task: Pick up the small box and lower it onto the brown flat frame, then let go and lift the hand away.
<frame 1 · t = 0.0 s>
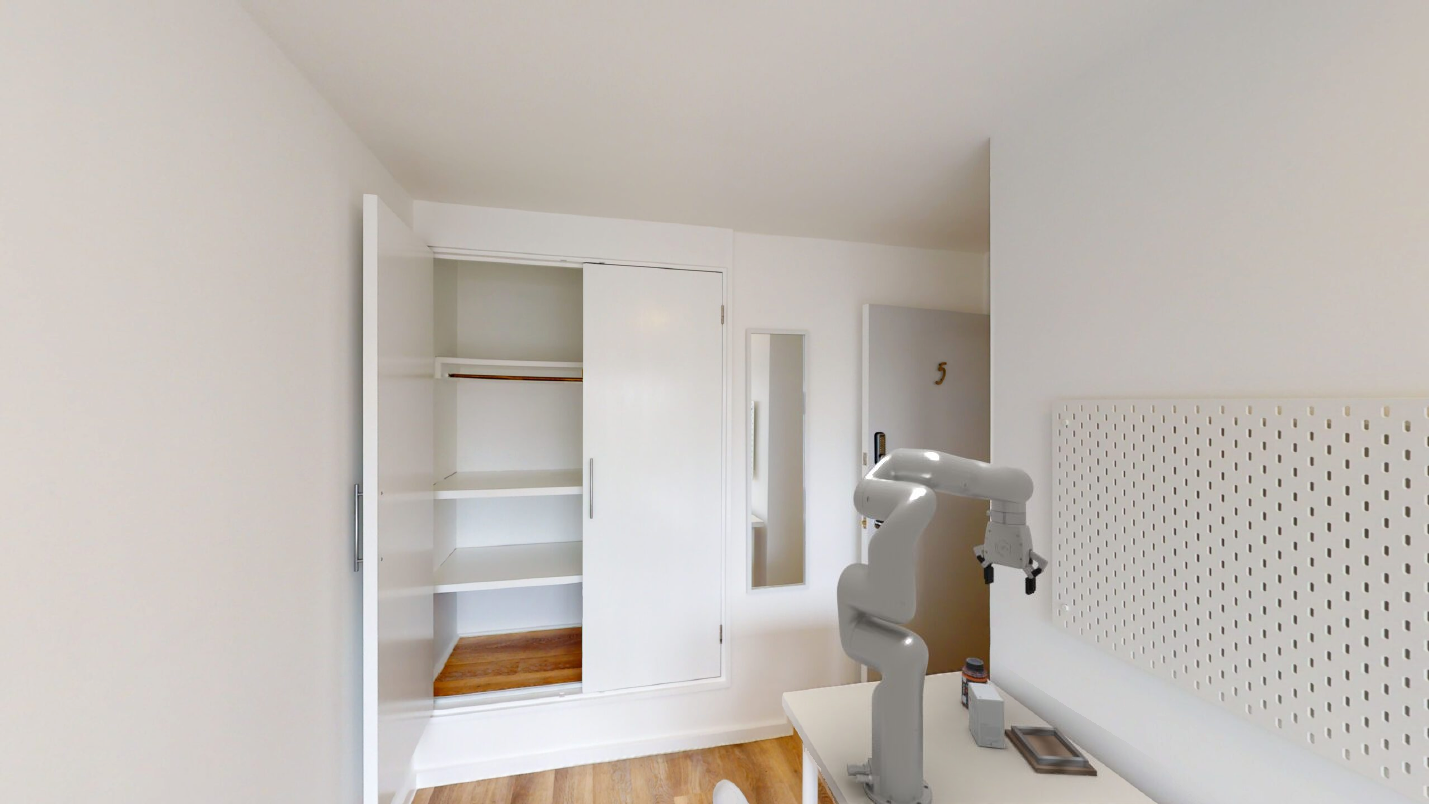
hand: (1009, 588, 134), 31 cm above the table, tool pointing down, fingers open, 9 cm apart
small box: (985, 738, 125), on the table
brown flat frame: (1047, 753, 119), on the table
supplement bottle: (974, 706, 139), on the table
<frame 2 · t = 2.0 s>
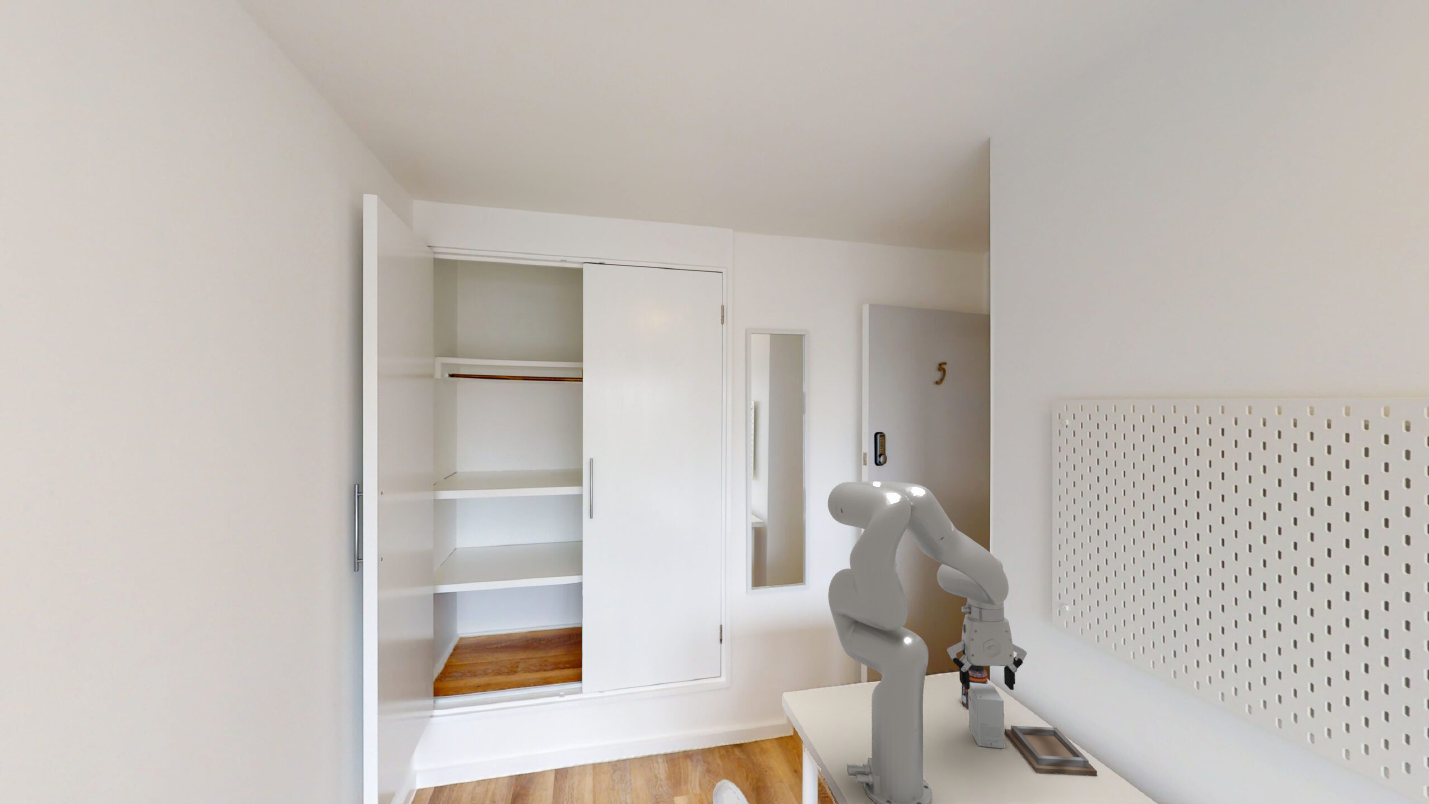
hand: (987, 686, 125), 11 cm above the table, tool pointing down, fingers open, 9 cm apart
nothing on the table moved.
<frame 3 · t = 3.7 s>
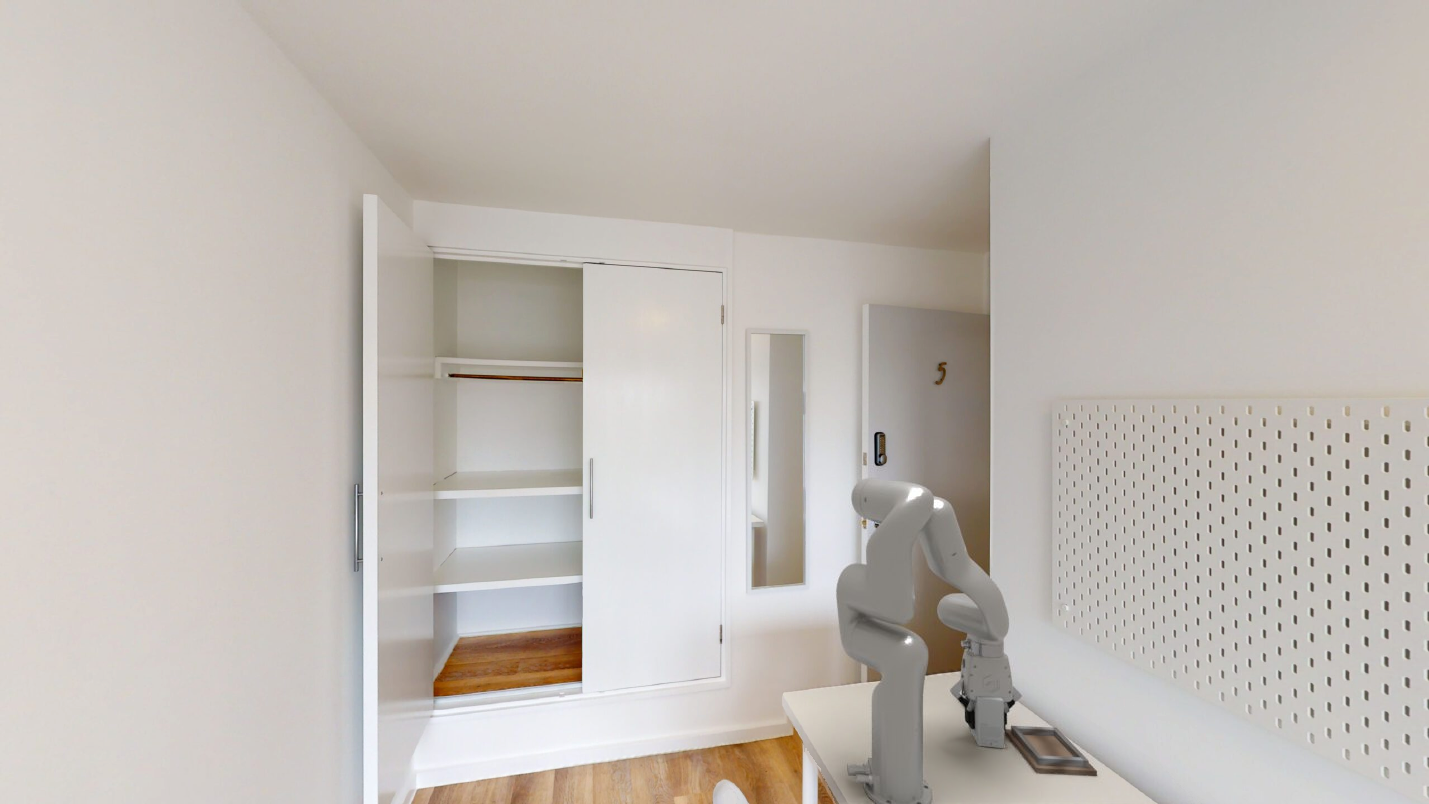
hand: (985, 725, 125), 3 cm above the table, tool pointing down, fingers closed on small box, 6 cm apart
small box: (985, 738, 125), on the table, touching gripper
everything else where it was.
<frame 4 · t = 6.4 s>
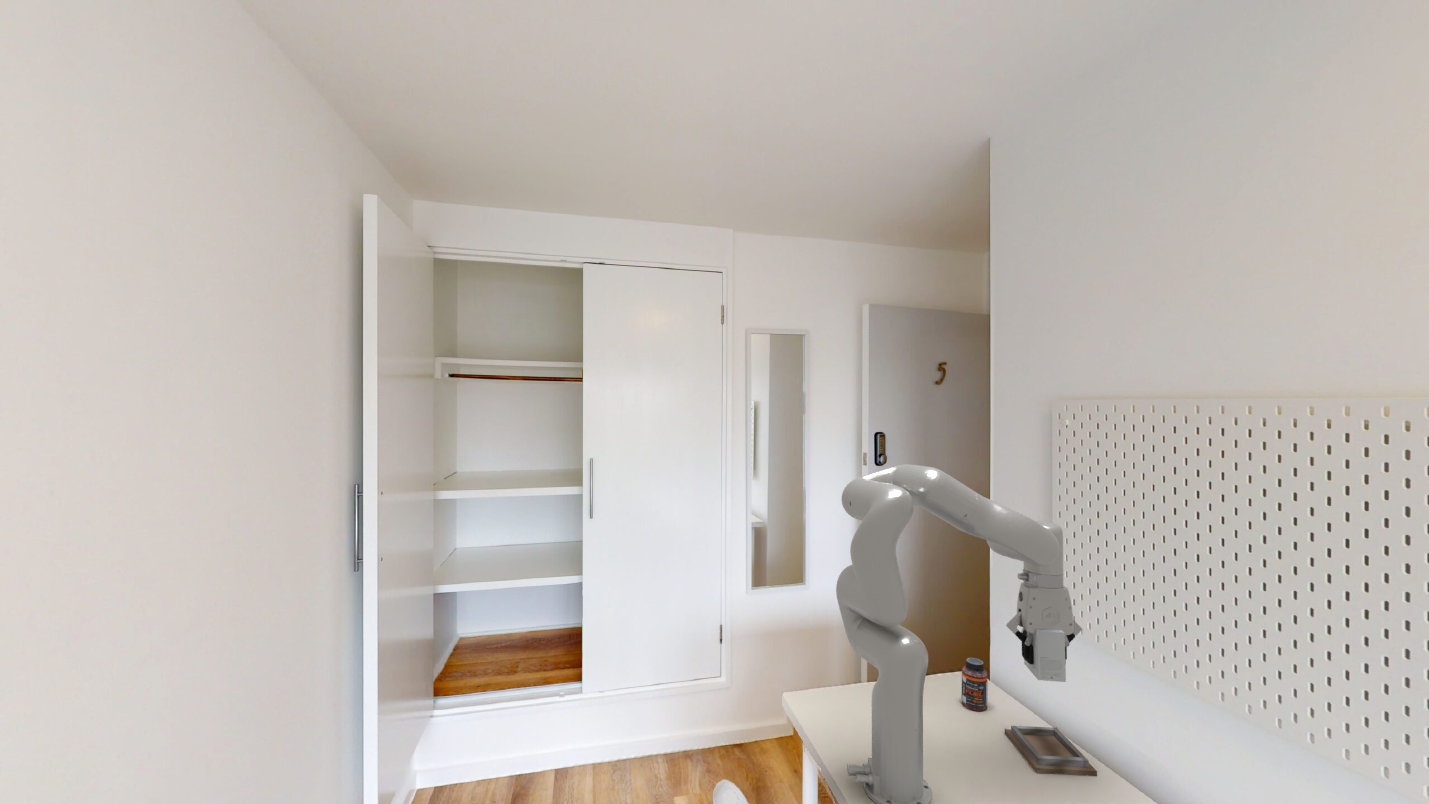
hand: (1044, 661, 120), 20 cm above the table, tool pointing down, fingers closed on small box, 6 cm apart
small box: (1044, 674, 120), point 17 cm above the table, touching gripper
everything else where it was.
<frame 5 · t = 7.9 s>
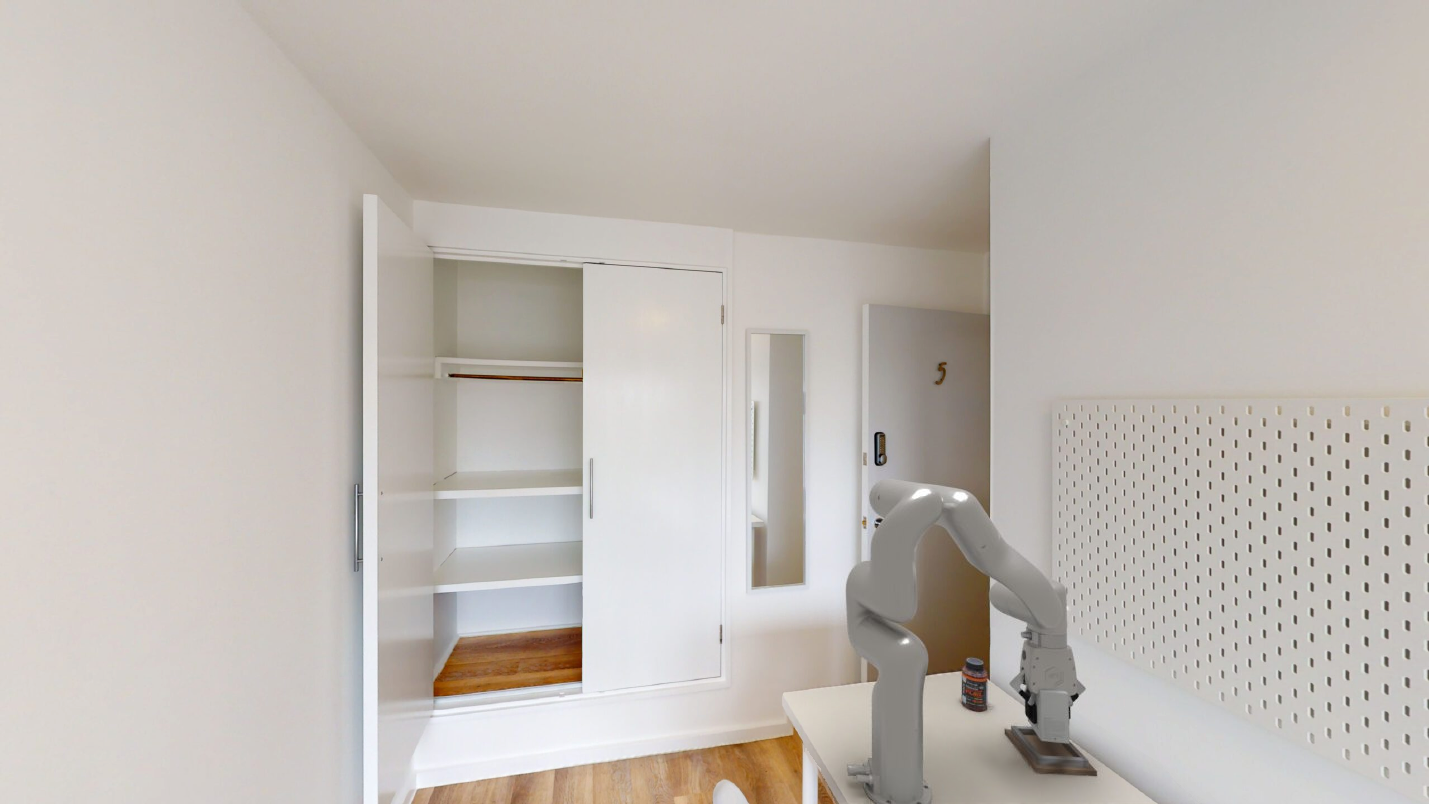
hand: (1047, 720, 119), 7 cm above the table, tool pointing down, fingers closed on small box, 6 cm apart
small box: (1047, 733, 119), point 4 cm above the table, touching gripper
everything else where it was.
when the fingers open (4 cm above the table, at t = 9.1 s): small box stays where it is, resting on brown flat frame.
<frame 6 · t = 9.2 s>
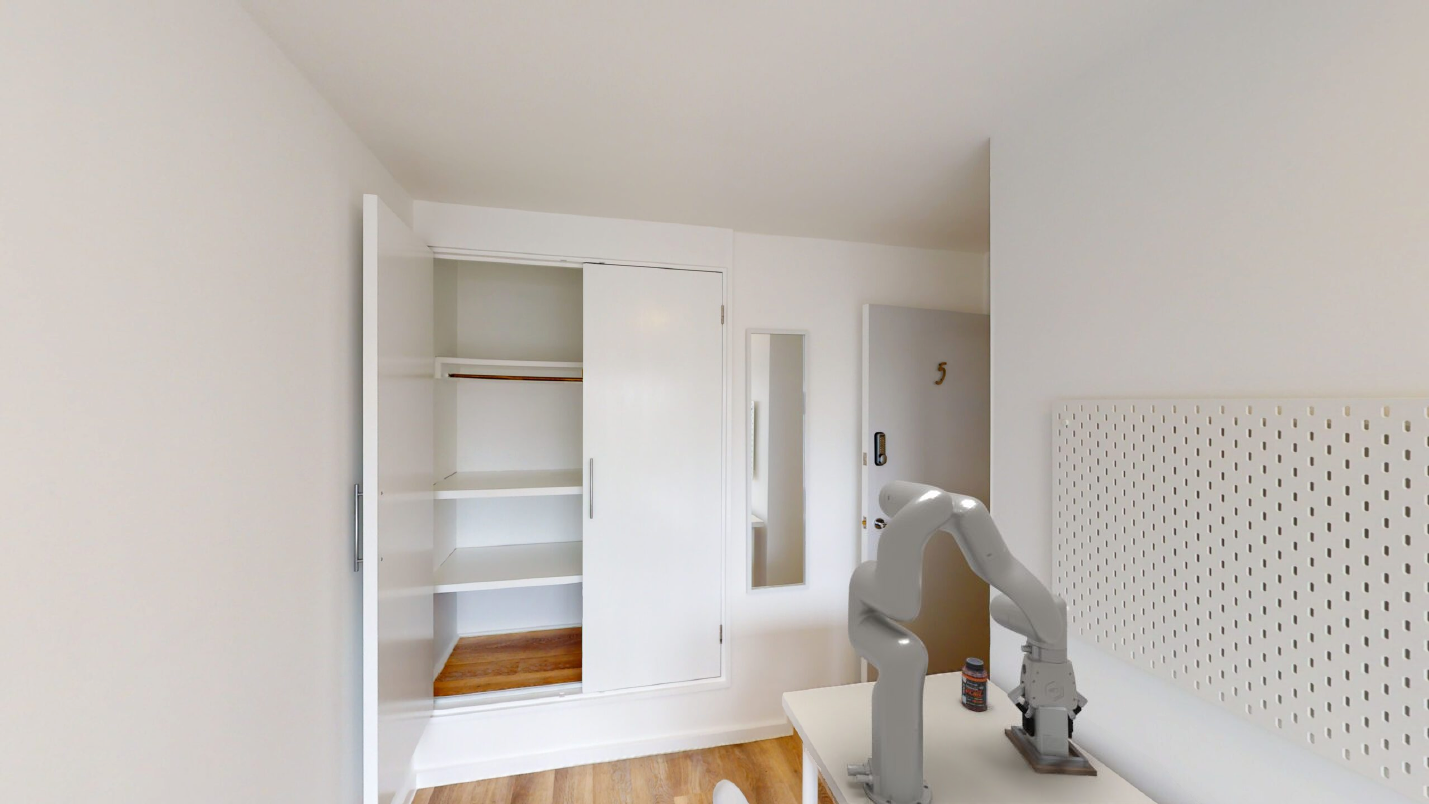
hand: (1047, 733, 119), 4 cm above the table, tool pointing down, fingers open, 7 cm apart
small box: (1046, 749, 119), point 1 cm above the table, touching brown flat frame
everything else where it was.
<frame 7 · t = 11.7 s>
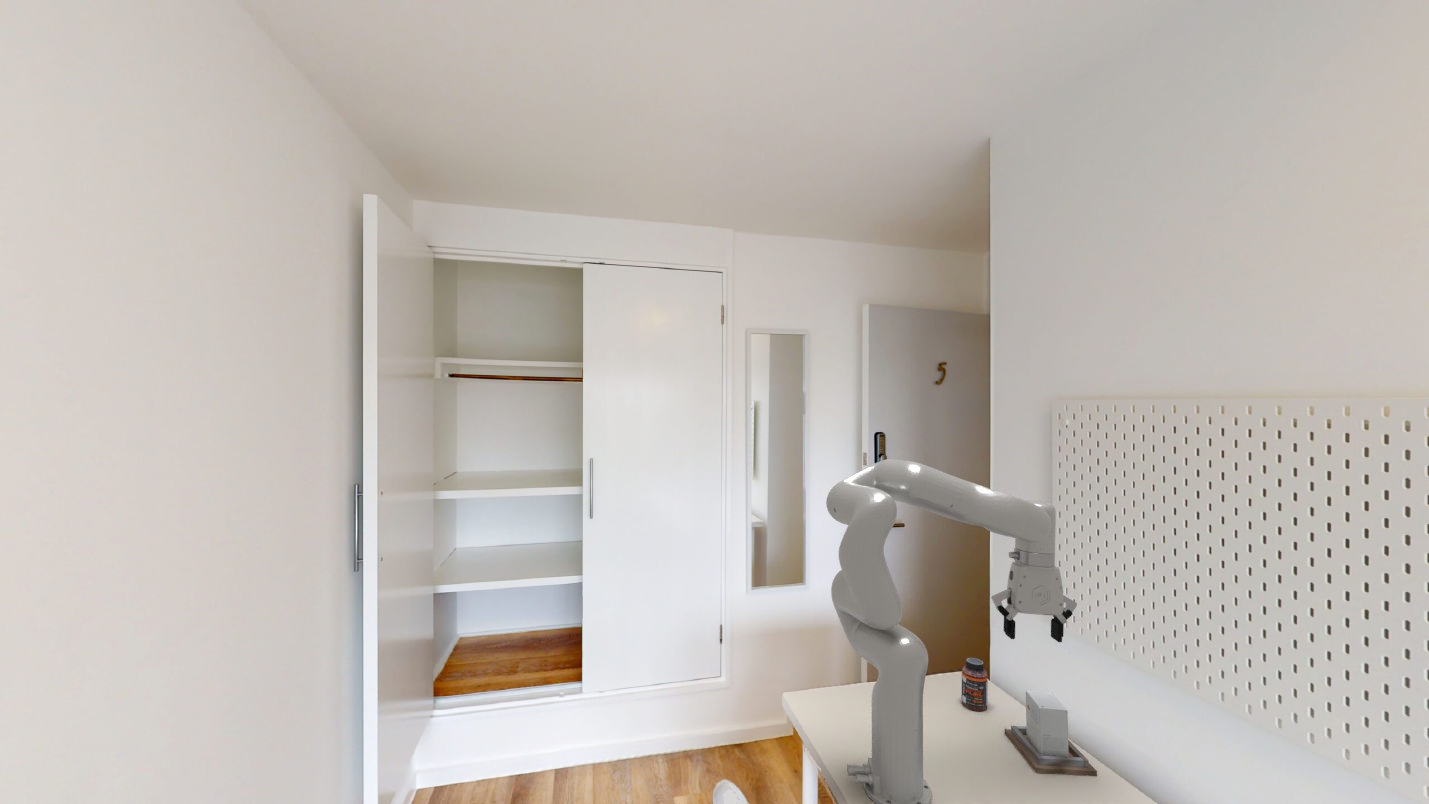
hand: (1033, 638, 118), 25 cm above the table, tool pointing down, fingers open, 9 cm apart
nothing on the table moved.
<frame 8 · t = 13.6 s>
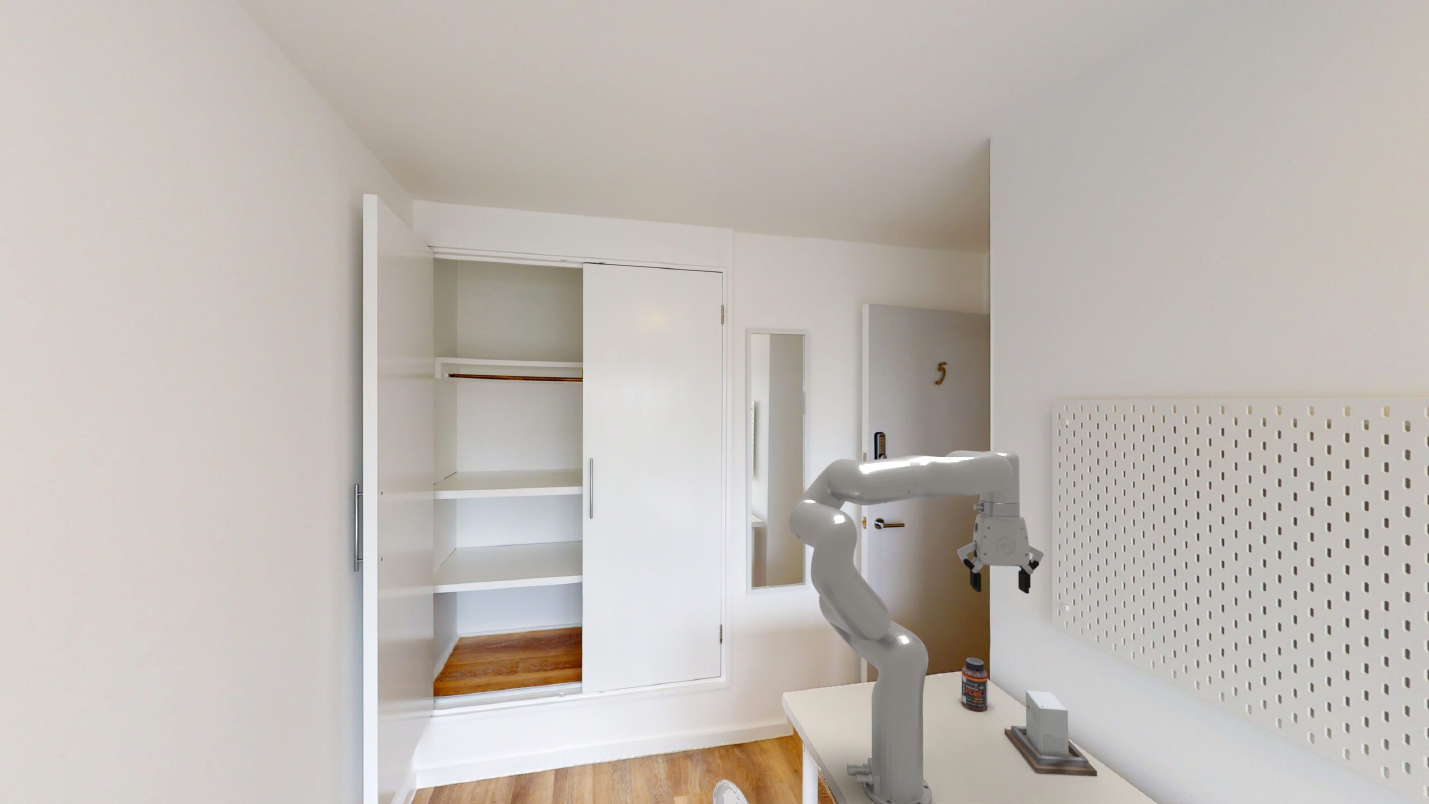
hand: (1000, 590, 116), 36 cm above the table, tool pointing down, fingers open, 9 cm apart
nothing on the table moved.
at the end: small box 0.3 cm off-centre on the brown flat frame, point 0.8 cm above the brown flat frame's base; small box tilted 0°; the gripper is holding nothing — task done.
